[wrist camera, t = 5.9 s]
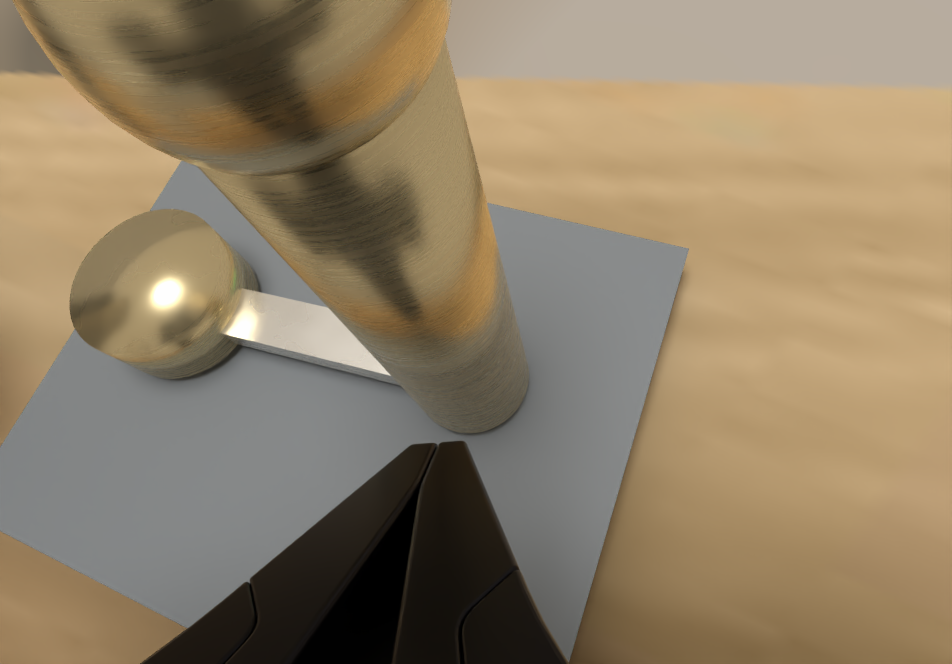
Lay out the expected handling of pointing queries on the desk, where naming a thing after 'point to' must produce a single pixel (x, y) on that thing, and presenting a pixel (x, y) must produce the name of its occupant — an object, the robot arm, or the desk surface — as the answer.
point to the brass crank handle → (297, 194)
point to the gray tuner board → (340, 429)
